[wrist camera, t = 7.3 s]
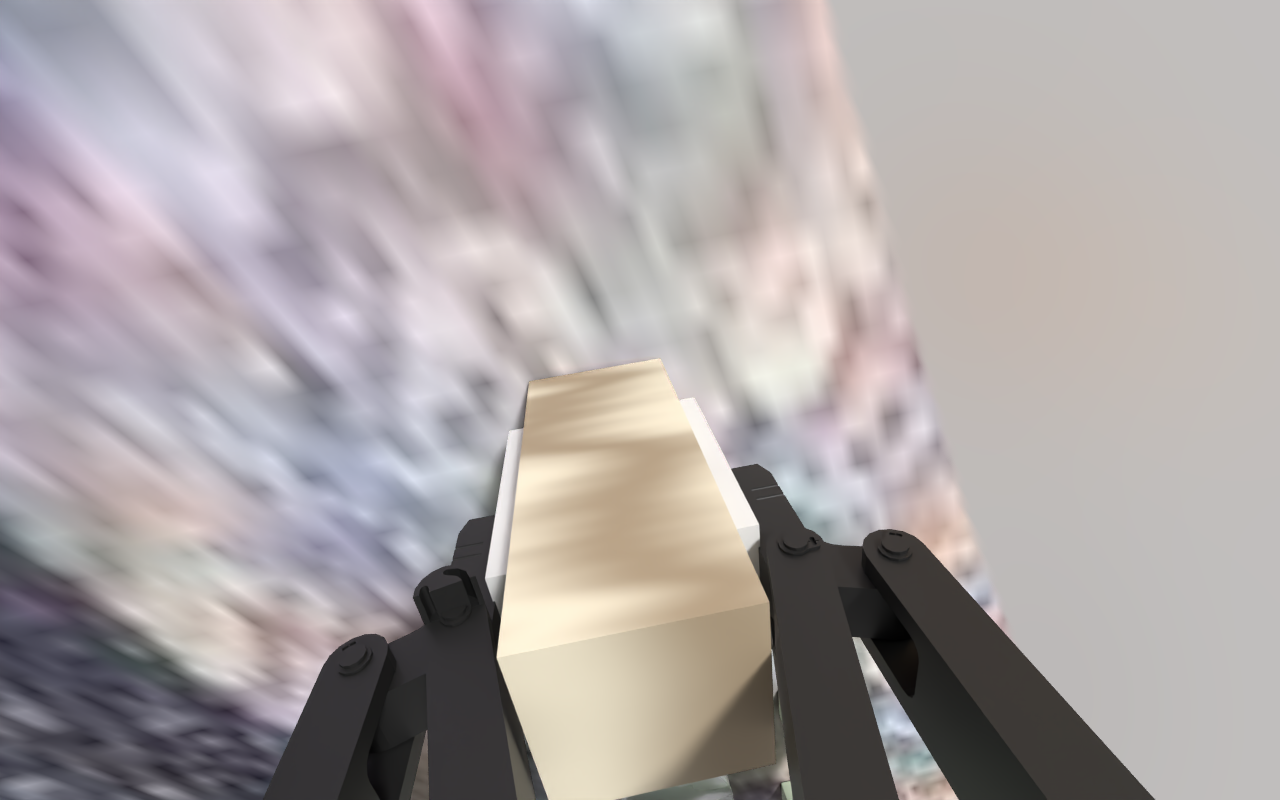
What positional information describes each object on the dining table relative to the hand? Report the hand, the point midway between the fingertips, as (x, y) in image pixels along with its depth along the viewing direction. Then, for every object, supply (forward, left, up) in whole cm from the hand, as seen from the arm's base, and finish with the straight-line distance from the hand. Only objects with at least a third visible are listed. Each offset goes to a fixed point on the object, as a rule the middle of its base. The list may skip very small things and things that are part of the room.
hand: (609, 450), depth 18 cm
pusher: (0, -7, -2) cm, 7 cm away
